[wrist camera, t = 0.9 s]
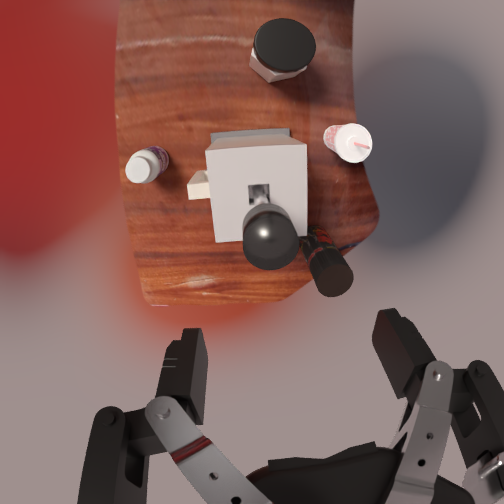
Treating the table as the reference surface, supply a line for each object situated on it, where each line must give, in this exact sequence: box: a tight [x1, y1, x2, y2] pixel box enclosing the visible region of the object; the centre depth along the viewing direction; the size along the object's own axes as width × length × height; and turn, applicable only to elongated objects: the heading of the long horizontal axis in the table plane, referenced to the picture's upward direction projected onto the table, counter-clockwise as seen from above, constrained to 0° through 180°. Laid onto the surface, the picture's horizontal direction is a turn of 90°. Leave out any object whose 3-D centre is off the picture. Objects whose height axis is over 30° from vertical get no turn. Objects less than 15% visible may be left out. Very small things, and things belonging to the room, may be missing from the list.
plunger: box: [242, 184, 299, 270], centre depth 27 cm, size 8×8×16 cm
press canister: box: [187, 128, 307, 242], centre depth 40 cm, size 13×15×18 cm
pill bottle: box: [126, 146, 169, 183], centre depth 42 cm, size 5×5×10 cm
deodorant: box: [299, 225, 353, 297], centre depth 48 cm, size 6×6×15 cm
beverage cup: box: [324, 123, 372, 163], centre depth 40 cm, size 6×6×14 cm
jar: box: [249, 18, 316, 83], centre depth 34 cm, size 9×8×12 cm
